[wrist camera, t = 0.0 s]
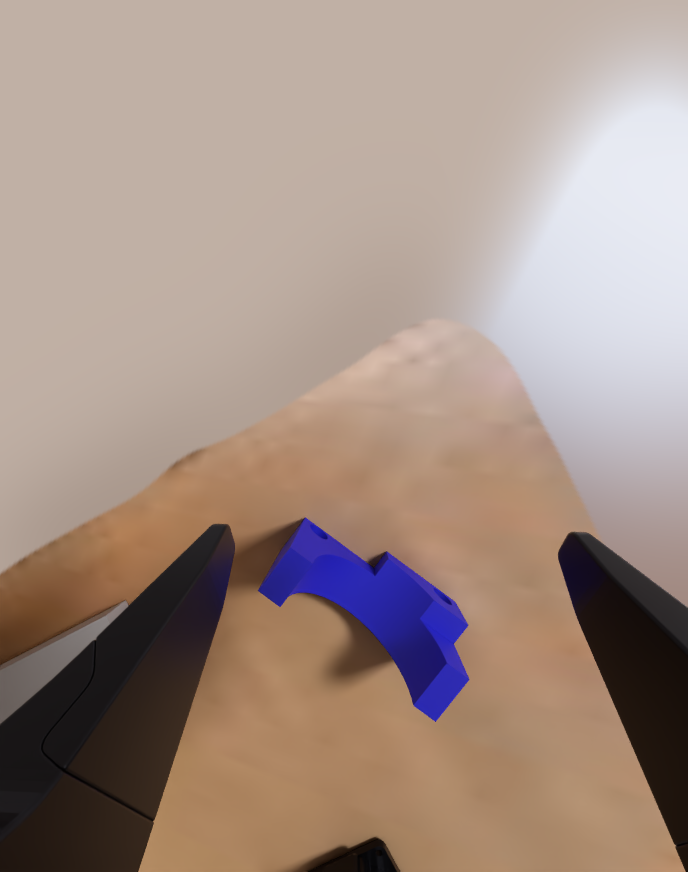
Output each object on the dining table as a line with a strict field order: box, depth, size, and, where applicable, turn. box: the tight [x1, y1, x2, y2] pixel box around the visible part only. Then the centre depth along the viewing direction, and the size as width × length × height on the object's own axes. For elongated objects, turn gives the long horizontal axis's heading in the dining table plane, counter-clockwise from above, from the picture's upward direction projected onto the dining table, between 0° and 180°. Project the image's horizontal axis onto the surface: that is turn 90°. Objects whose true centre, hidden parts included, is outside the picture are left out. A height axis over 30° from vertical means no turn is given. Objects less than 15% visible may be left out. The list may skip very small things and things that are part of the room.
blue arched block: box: [258, 518, 469, 722], centre depth 22 cm, size 12×4×6 cm, turn 54°
